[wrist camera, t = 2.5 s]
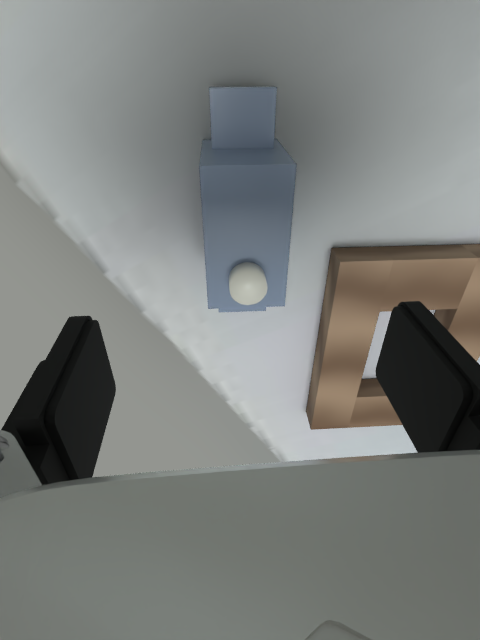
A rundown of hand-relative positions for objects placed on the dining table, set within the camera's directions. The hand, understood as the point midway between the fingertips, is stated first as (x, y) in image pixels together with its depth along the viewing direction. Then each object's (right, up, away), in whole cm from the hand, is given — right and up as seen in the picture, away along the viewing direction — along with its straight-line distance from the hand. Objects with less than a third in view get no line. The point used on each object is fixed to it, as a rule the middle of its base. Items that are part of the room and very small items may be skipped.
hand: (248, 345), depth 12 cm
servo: (0, +8, +10) cm, 13 cm away
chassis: (+12, -1, +17) cm, 21 cm away
